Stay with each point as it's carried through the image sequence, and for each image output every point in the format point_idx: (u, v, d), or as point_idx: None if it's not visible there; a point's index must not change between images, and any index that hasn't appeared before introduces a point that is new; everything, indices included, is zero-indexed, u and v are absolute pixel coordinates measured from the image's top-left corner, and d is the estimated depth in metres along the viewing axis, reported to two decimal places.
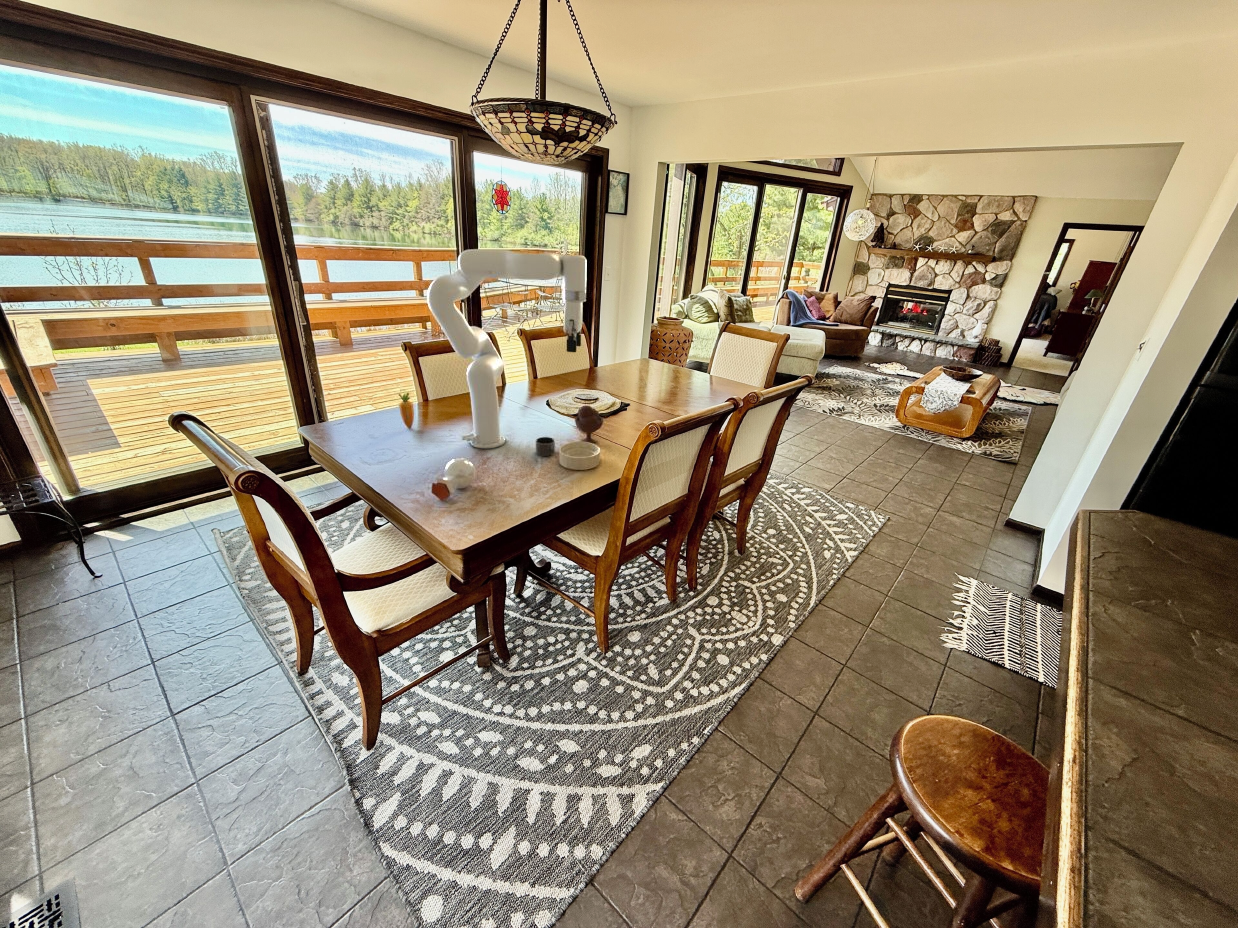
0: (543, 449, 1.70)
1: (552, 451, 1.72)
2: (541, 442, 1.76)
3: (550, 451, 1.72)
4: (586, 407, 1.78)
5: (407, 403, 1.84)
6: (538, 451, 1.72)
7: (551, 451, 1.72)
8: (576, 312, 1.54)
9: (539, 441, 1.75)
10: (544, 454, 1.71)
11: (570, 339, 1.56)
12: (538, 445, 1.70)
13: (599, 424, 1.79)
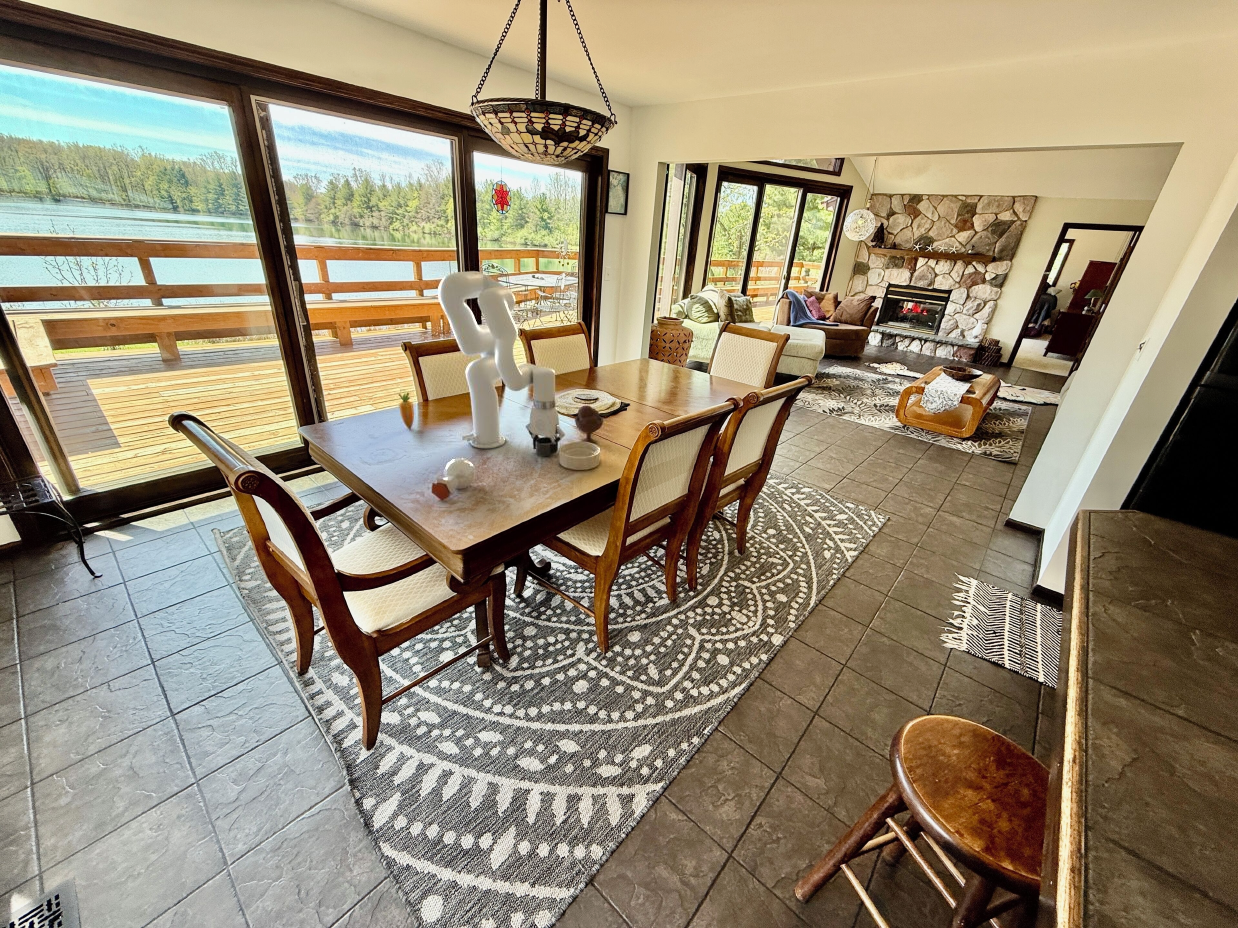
0: (543, 449, 1.70)
1: None
2: (541, 442, 1.76)
3: (550, 451, 1.72)
4: (586, 407, 1.78)
5: (407, 403, 1.84)
6: (538, 451, 1.72)
7: None
8: None
9: (539, 441, 1.75)
10: (544, 454, 1.71)
11: (557, 442, 1.70)
12: (538, 445, 1.70)
13: (599, 424, 1.79)
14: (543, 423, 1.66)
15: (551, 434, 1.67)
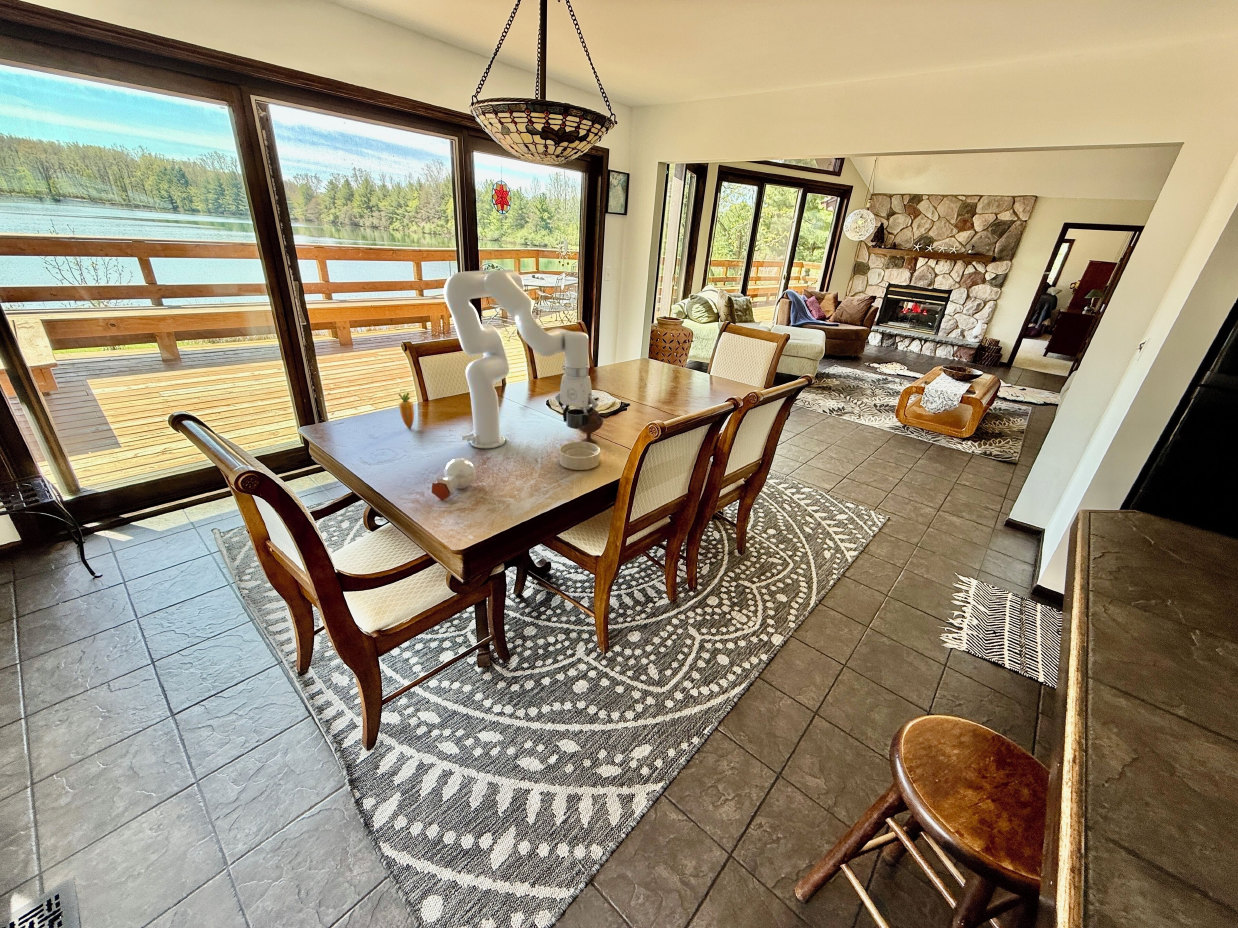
0: (575, 420, 1.60)
1: None
2: (571, 414, 1.65)
3: (582, 423, 1.61)
4: None
5: (407, 403, 1.84)
6: (569, 423, 1.61)
7: None
8: None
9: (569, 413, 1.64)
10: (576, 426, 1.60)
11: (589, 413, 1.60)
12: (569, 416, 1.60)
13: (599, 424, 1.79)
14: (575, 392, 1.56)
15: (584, 404, 1.56)
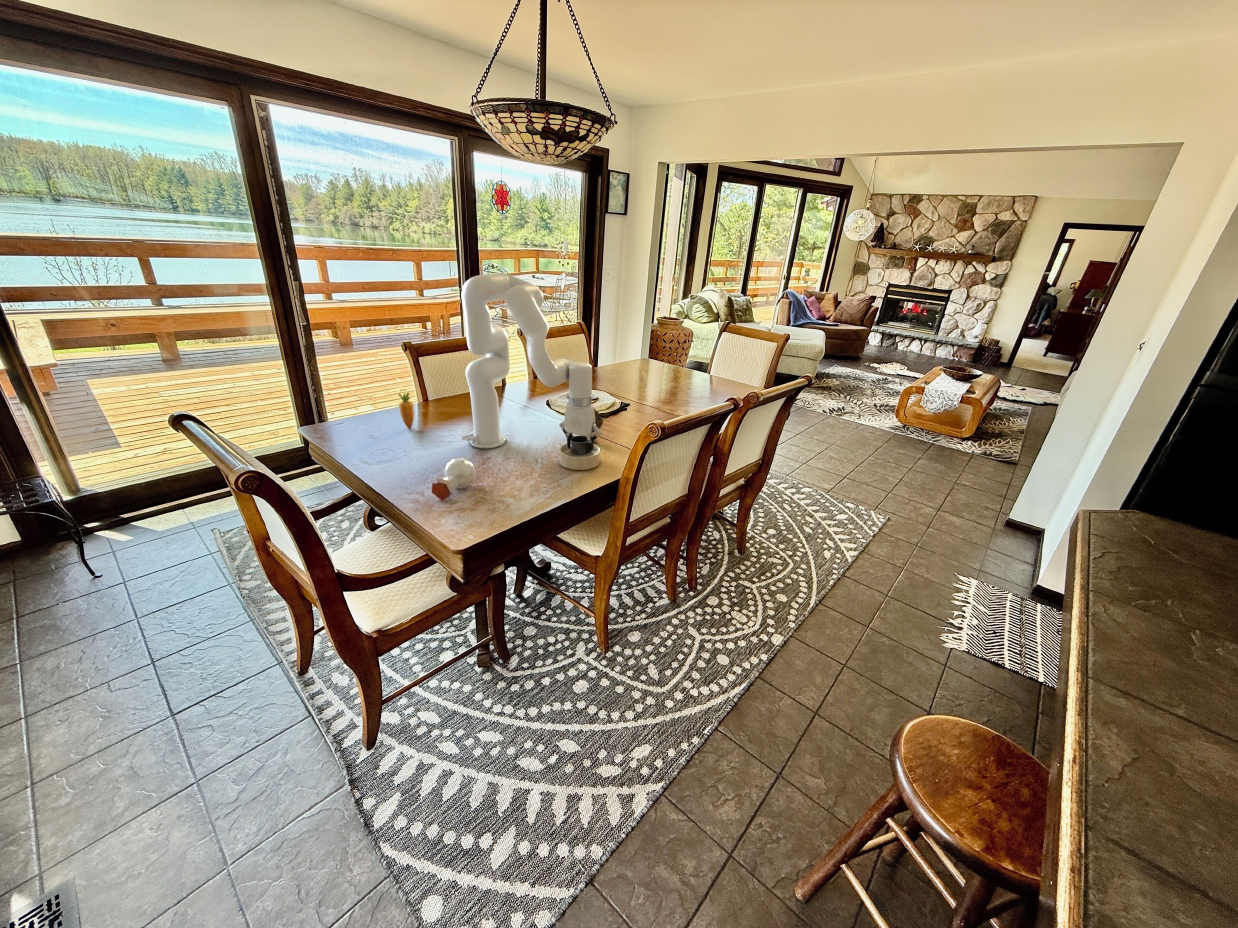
0: (578, 448, 1.63)
1: None
2: (575, 441, 1.68)
3: (585, 450, 1.64)
4: None
5: (407, 403, 1.84)
6: (573, 450, 1.64)
7: (586, 450, 1.65)
8: (594, 414, 1.61)
9: (573, 440, 1.68)
10: (579, 453, 1.64)
11: (592, 441, 1.63)
12: (573, 444, 1.63)
13: (599, 424, 1.79)
14: (579, 421, 1.59)
15: (587, 432, 1.60)
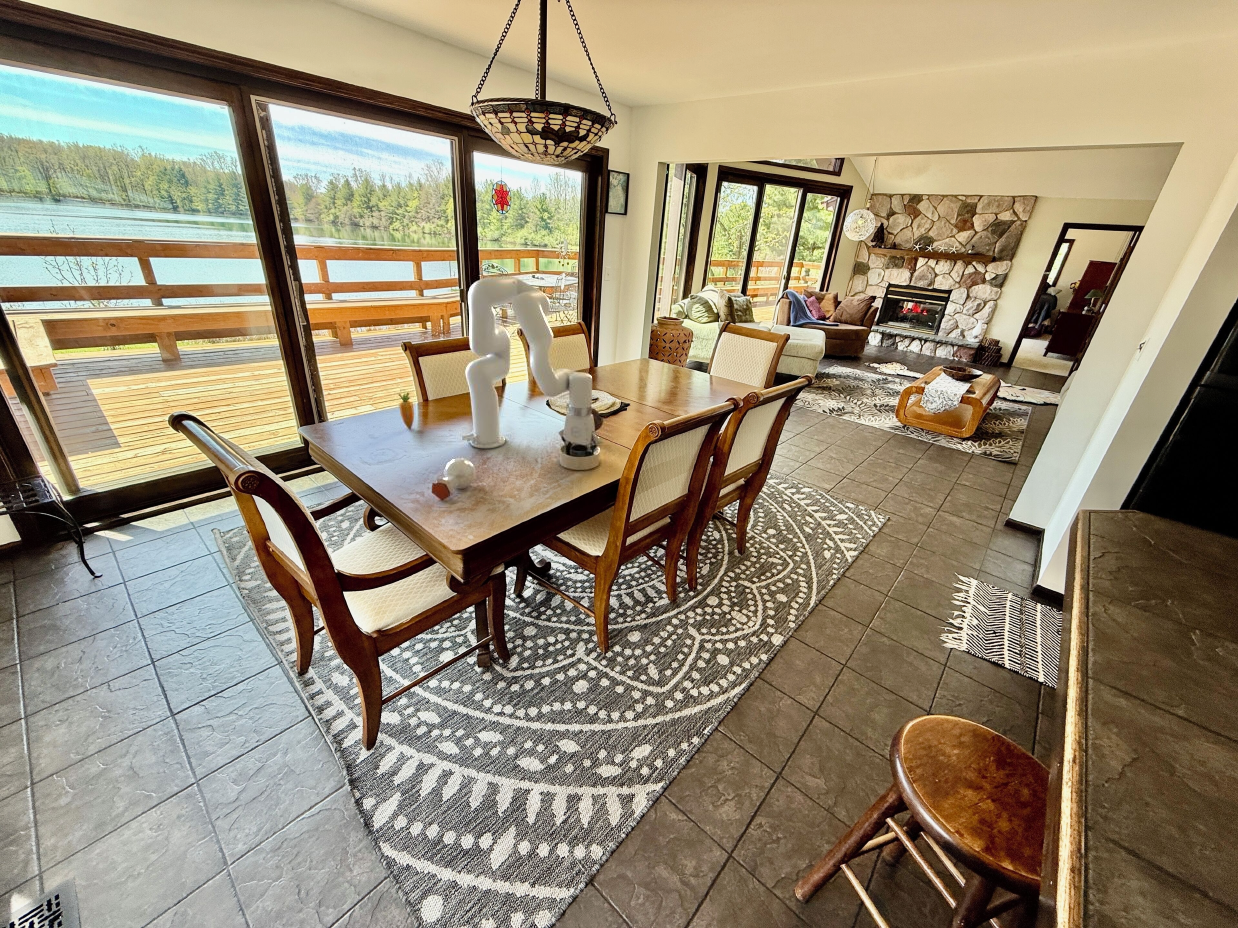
0: None
1: None
2: (575, 449, 1.70)
3: None
4: None
5: (407, 403, 1.84)
6: None
7: None
8: None
9: (573, 448, 1.69)
10: None
11: (593, 449, 1.64)
12: (573, 453, 1.65)
13: (599, 424, 1.79)
14: (579, 430, 1.61)
15: (587, 442, 1.61)
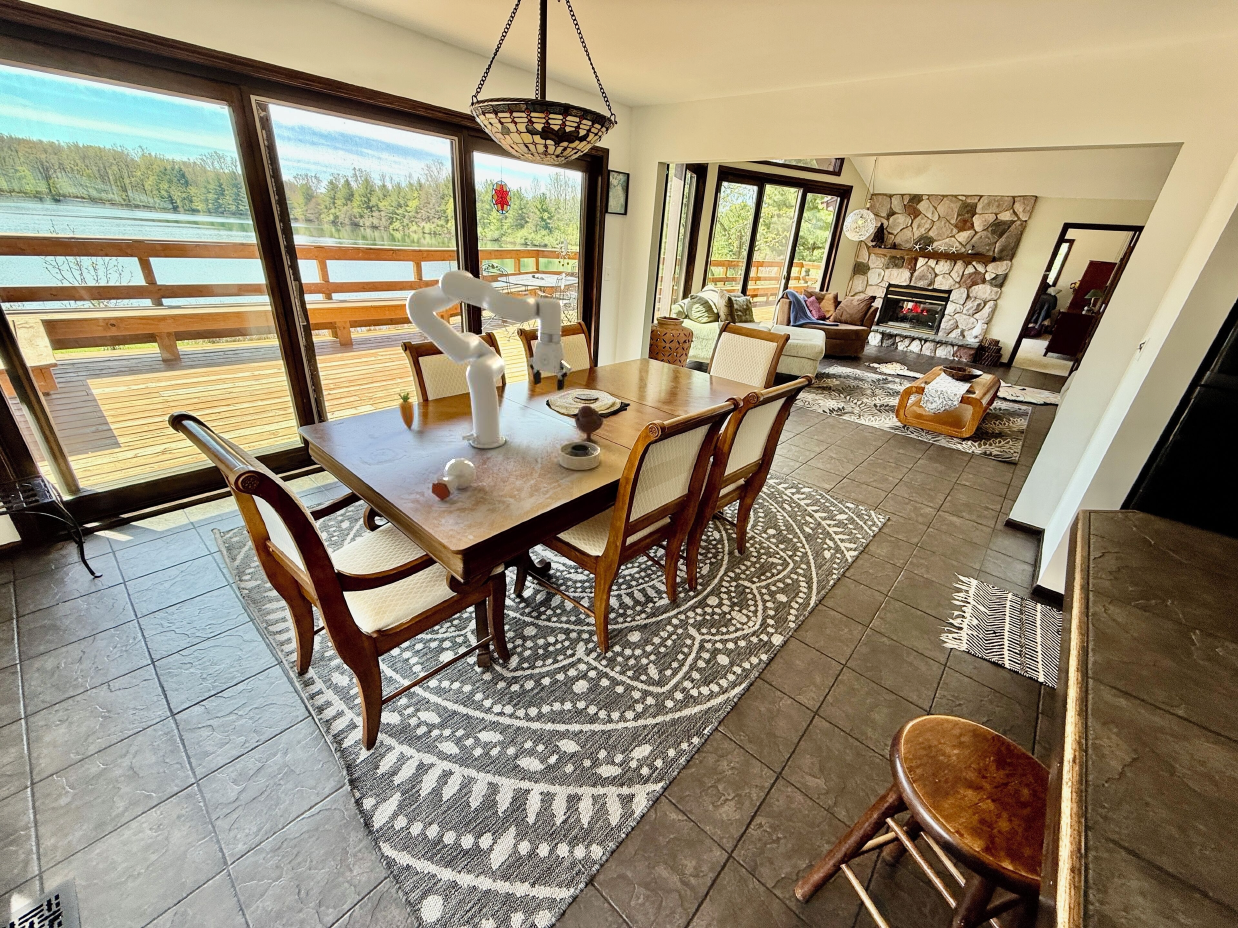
0: None
1: None
2: (575, 449, 1.70)
3: None
4: (586, 407, 1.78)
5: (407, 403, 1.84)
6: None
7: None
8: (563, 352, 1.62)
9: (573, 448, 1.69)
10: None
11: (563, 378, 1.64)
12: (573, 453, 1.65)
13: (599, 424, 1.79)
14: (548, 357, 1.61)
15: (555, 369, 1.61)
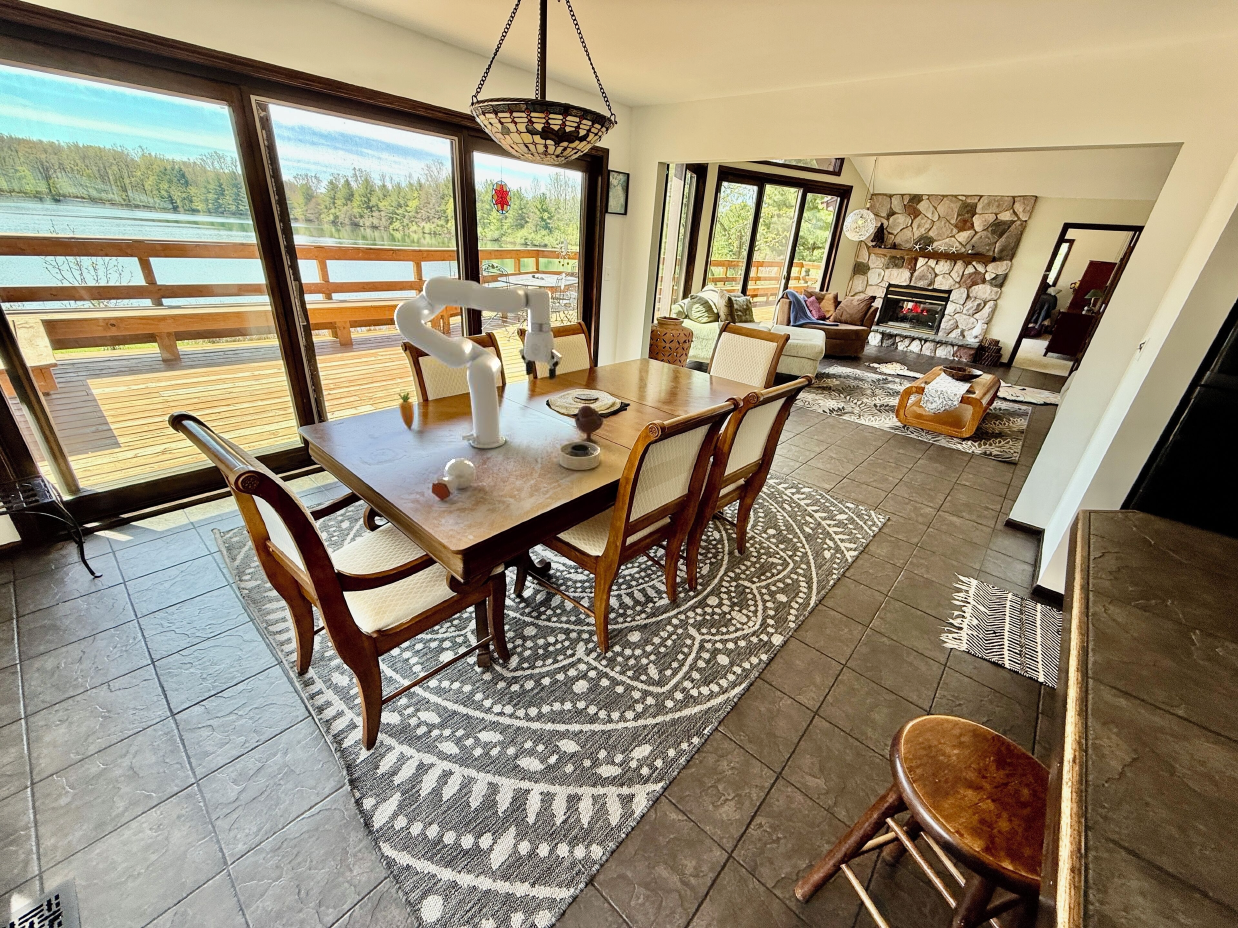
0: None
1: None
2: (575, 449, 1.70)
3: None
4: (586, 407, 1.78)
5: (407, 403, 1.84)
6: None
7: None
8: (553, 341, 1.65)
9: (573, 448, 1.69)
10: None
11: (555, 367, 1.66)
12: (573, 453, 1.65)
13: (599, 424, 1.79)
14: (538, 347, 1.63)
15: (546, 359, 1.64)
